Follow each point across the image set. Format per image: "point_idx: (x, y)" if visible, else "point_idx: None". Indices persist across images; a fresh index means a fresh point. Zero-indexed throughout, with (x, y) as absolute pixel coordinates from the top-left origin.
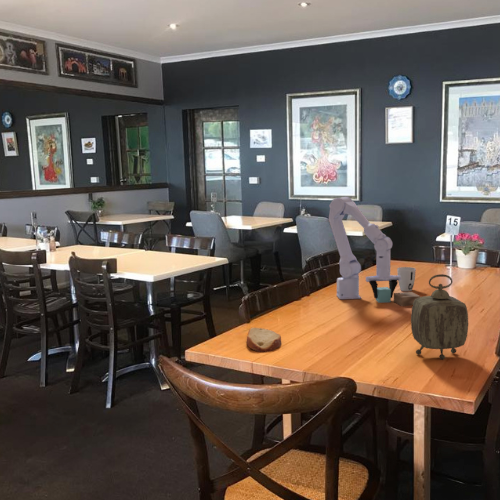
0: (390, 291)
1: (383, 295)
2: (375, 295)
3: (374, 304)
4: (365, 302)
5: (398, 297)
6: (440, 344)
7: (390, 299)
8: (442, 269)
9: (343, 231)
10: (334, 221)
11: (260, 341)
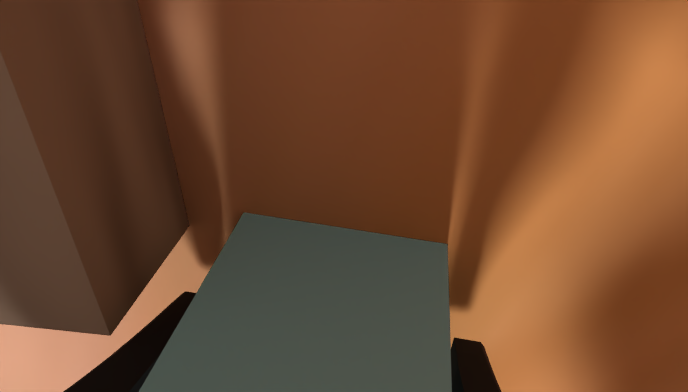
0: (163, 365)
1: (349, 324)
2: (496, 386)
3: (600, 158)
4: (662, 319)
5: (52, 79)
6: None
7: (230, 243)
8: None
9: None
10: None
11: None
